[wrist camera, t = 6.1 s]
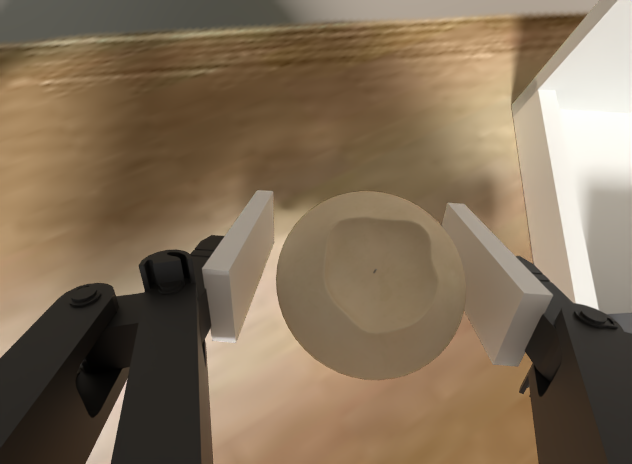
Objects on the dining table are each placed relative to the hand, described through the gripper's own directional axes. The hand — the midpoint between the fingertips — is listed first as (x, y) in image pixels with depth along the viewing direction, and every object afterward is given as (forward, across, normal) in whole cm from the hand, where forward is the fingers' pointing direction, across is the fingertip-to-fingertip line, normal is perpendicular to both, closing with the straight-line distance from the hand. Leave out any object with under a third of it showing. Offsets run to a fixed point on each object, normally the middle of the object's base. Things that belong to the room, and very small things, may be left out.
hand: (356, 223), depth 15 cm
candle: (0, 0, -5) cm, 5 cm away
